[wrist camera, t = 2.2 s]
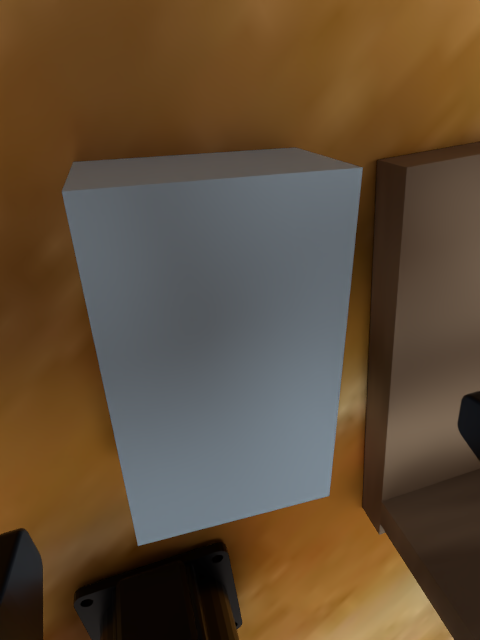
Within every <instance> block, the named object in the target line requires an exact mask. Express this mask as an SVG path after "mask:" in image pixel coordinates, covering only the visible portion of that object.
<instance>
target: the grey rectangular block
mask: <svg viewBox="0 0 480 640" xmlns="http://www.w3.org/2000/svg"><path fill="white" fill-rule="evenodd" d="M362 170H363V167H359V166H356V165H353V164H349V163H346V162H343V161H339V160H336V159H333V158H329V157H326V156H323V155H319V154H316V153H313V152H309V151H306V150H302V149H299V148H296V147H295V148H279V149H264V150H249V151H233V152H218V153H203V154H187V155H172V156H157V157H141V158H126V159H111V160H95V161H80V162H73V164H72V166H71V169H70V172H69V174H68V177H67V179H66V182H65V184H64V187H63V189H62V195H63V200H64V204H65V209H66V214H67V218H68V223H69V228H70V232H71V237H72V241H73V246H74V251H75V255H76V260H77V265H78V269H79V274H80V279H81V283H82V288H83V293H84V297H85V302H86V307H87V311H88V316H89V320H90V325H91V330H92V334H93V339H94V344H95V348H96V353H97V358H98V362H99V367H100V372H101V376H102V381H103V386H104V390H105V395H106V399H107V404H108V409H109V413H110V418H111V423H112V427H113V432H114V437H115V441H116V446H117V451H118V455H119V460H120V465H121V469H122V474H123V478H124V483H125V488H126V492H127V497H128V502H129V506H130V511H131V516H132V520H133V525H134V530H135V534H136V539H137V544H138V546H140V545H144V544H148V543H151V542H155V541H159V540H163V539H167V538H170V537H174V536H178V535H182V534H186V533H190V532H193V531H197V530H201V529H205V528H209V527H212V526H216V525H220V524H224V523H228V522H231V521H235V520H239V519H243V518H247V517H250V516H254V515H258V514H262V513H266V512H269V511H273V510H277V509H281V508H285V507H288V506H292V505H296V504H300V503H304V502H308V501H311V500H315V499H319V498H323V497H327V496H329V493H330V484H331V474H332V464H333V454H334V444H335V435H336V425H337V415H338V405H339V395H340V386H341V376H342V366H343V356H344V346H345V337H346V327H347V317H348V307H349V297H350V288H351V278H352V268H353V258H354V249H355V239H356V229H357V219H358V209H359V200H360V190H361V180H362Z"/></svg>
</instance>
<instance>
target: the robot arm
mask: <svg viewBox="0 0 480 640" xmlns="http://www.w3.org/2000/svg"><path fill="white" fill-rule="evenodd" d="M457 425H458V430H459V432H460V434H461V436H462V437H463V439H464V440H465V442H466V443H467V444H468V446H469V447H470V449H471V450H472V452H473V453H474V454H475V456H476V457H477V459H478V460H479V462H480V391H476V392H473V393H470V394H466V395H464V396H463V398H462V400H461V405H460V410H459V416H458V422H457ZM74 608H75V610H76V612H77V613H78V615H79V617H80V619H81V621H82V623H83V624H84V626H85V628H86V630H87V632H88V634H89V635H90V637H91V639H92V640H239V637H238V633H237V629H238V628H239V627H240V626H241V625H242V618H241V613H240V608H239V604H238V599H237V594H236V589H235V584H234V579H233V574H232V569H231V564H230V559H229V555H228V551H227V547H226V545H225V544H223V543H214V544H211V545H208V546H205V547H202V548H199V549H196V550H193V551H190V552H187V553H184V554H181V555H178V556H175V557H172V558H169V559H166V560H163V561H160V562H157V563H154V564H150V565H147V566H144V567H141V568H138V569H135V570H132V571H129V572H126V573H123V574H120V575H117V576H114V577H111V578H108V579H105V580H102V581H99V582H96V583H93V584H90V585H87V586H84V587H82V588H80V589H78V590H77V591H76V592H75V594H74ZM0 640H43V566H42V559H41V556H40V554H39V552H38V550H37V548H36V546H35V544H34V543H33V541H32V539H31V537H30V535H29V533H28V532H27V531H26V530H25V529H23V528H19V529H16V530H13V531H9V532H6V533H3V534H1V535H0Z"/></svg>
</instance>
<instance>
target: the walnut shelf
mask: <svg viewBox="0 0 480 640" xmlns="http://www.w3.org/2000/svg"><path fill="white" fill-rule="evenodd" d="M476 391H480V142H476V143H471V144H465V145H459V146H454V147H448V148H442V149H437V150H431V151H425V152H420V153H414V154H408V155H403V156H397V157H391V158H386V159H380V160H377V178H376V201H375V225H374V248H373V272H372V295H371V318H370V342H369V365H368V388H367V412H366V435H365V459H364V482H363V505H362V508H363V509H364V511H365V512H366V514H367V516H368V517H369V519H370V520H371V522H372V524H373V525H374V527H375V528H376V530H377V532H378V533H379V534H382V533H385V532H386V534H387V535H388V537H389V539H390V540H391V542H392V543H393V545H394V546H395V548H396V550H397V551H398V553H399V554H400V556H401V557H402V559H403V560H404V562H405V564H406V565H407V567H408V568H409V570H410V571H411V573H412V574H413V576H414V578H415V579H416V581H417V582H418V584H419V585H420V587H421V588H422V590H423V592H424V593H425V595H426V596H427V598H428V599H429V601H430V602H431V604H432V606H433V607H434V609H435V610H436V612H437V613H438V615H439V616H440V618H441V620H442V621H443V623H444V624H445V626H446V627H447V629H448V630H449V632H450V634H451V635H452V637H453V638H454V640H480V462H479V460H478V459H477V457H476V456H475V454H474V453H473V452H472V450H471V449H470V447H469V446H468V444H467V443H466V442H465V440H464V439H463V437H462V436H461V434H460V432H459V430H458V425H457V422H458V416H459V410H460V405H461V400H462V398H463V396H464V395H466V394H470V393H473V392H476Z"/></svg>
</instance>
